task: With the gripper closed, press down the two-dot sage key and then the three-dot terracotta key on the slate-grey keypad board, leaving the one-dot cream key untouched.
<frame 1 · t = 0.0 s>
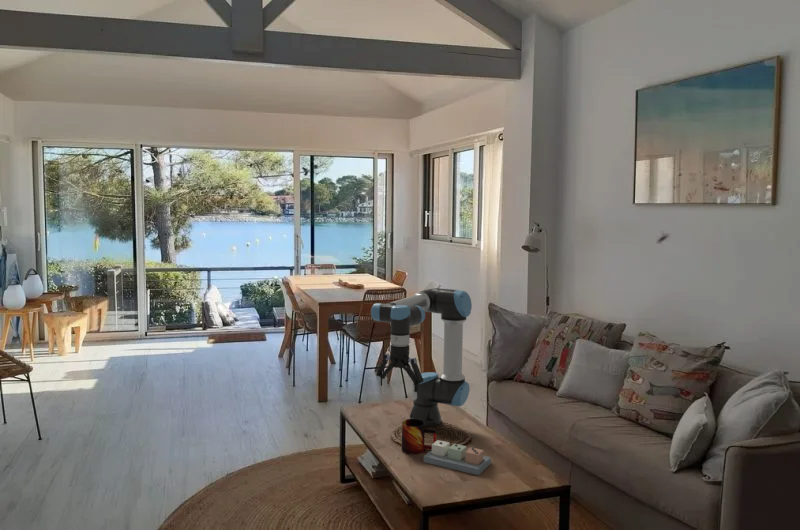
hand: (399, 396, 257), 28 cm above the table, fingers open, 13 cm apart
key two: (457, 451, 262), point 5 cm above the table, slide at 0.0 cm
key one: (440, 448, 265), point 5 cm above the table, slide at 0.0 cm
keypad board: (457, 462, 262), on the table
mug: (417, 450, 275), on the table
key three: (474, 455, 258), point 5 cm above the table, slide at 0.0 cm
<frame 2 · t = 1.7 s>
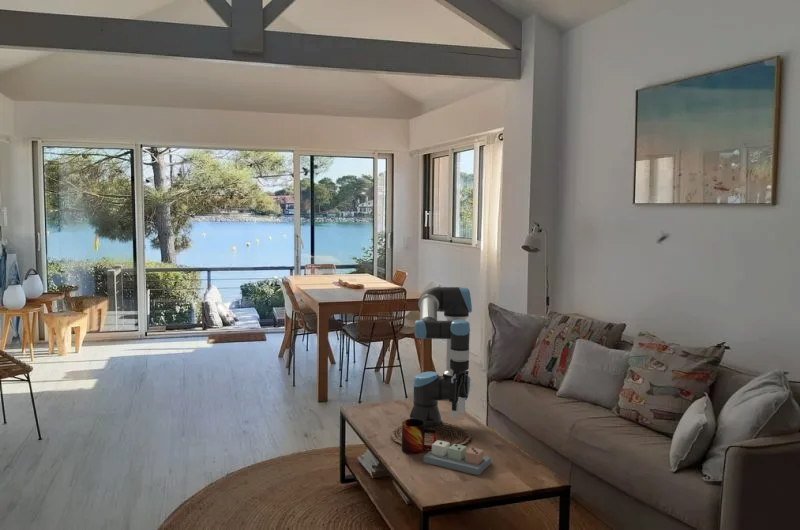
hand: (458, 415, 260), 20 cm above the table, fingers open, 6 cm apart
nothing on the table moved.
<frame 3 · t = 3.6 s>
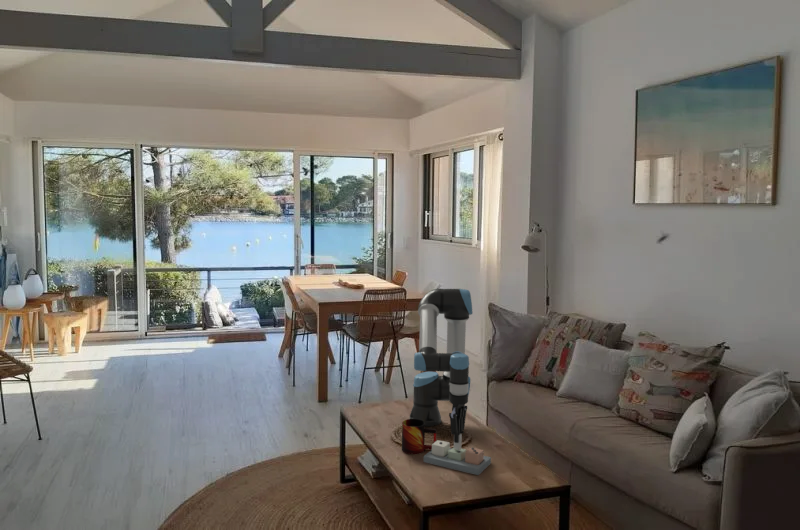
hand: (457, 449, 261), 6 cm above the table, fingers closed
key two: (457, 455, 262), point 3 cm above the table, slide at 1.3 cm, touching gripper
mug: (417, 450, 275), on the table, touching keypad board
everything else where it was.
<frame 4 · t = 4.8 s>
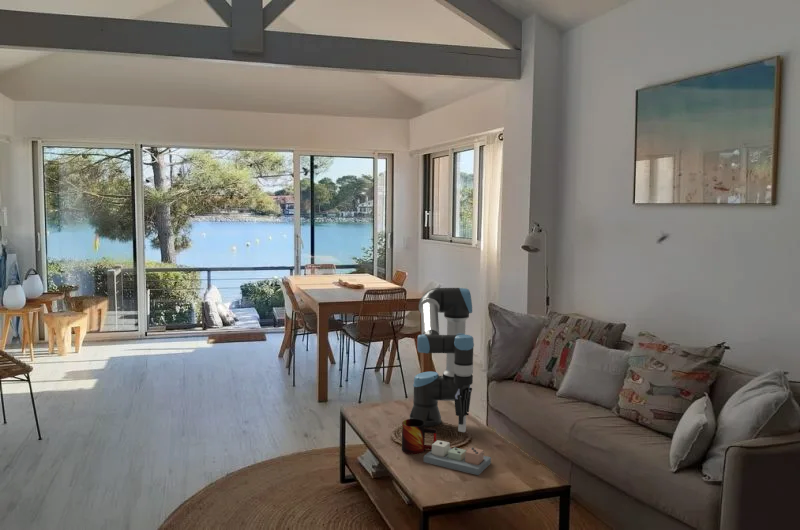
hand: (462, 431, 259), 14 cm above the table, fingers closed
key two: (457, 455, 262), point 3 cm above the table, slide at 1.6 cm
mug: (417, 450, 275), on the table
everything else where it was.
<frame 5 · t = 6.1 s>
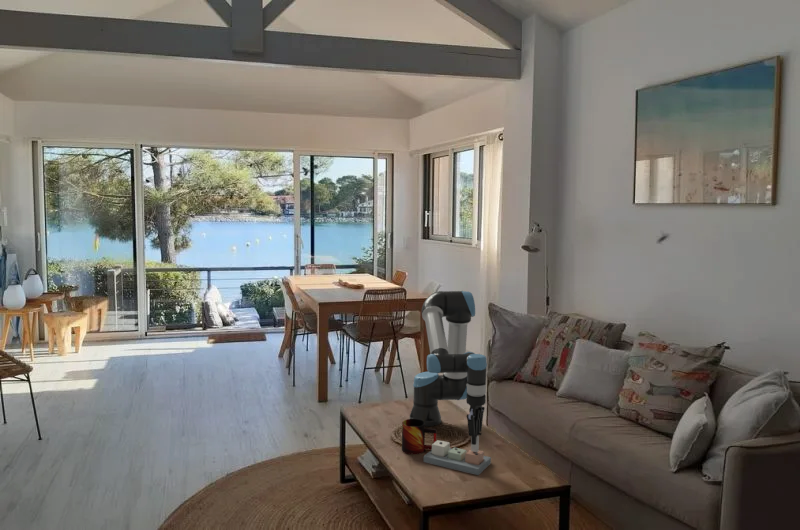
hand: (474, 451, 258), 7 cm above the table, fingers closed
key three: (474, 457, 258), point 4 cm above the table, slide at 0.5 cm, touching gripper
everything else where it was.
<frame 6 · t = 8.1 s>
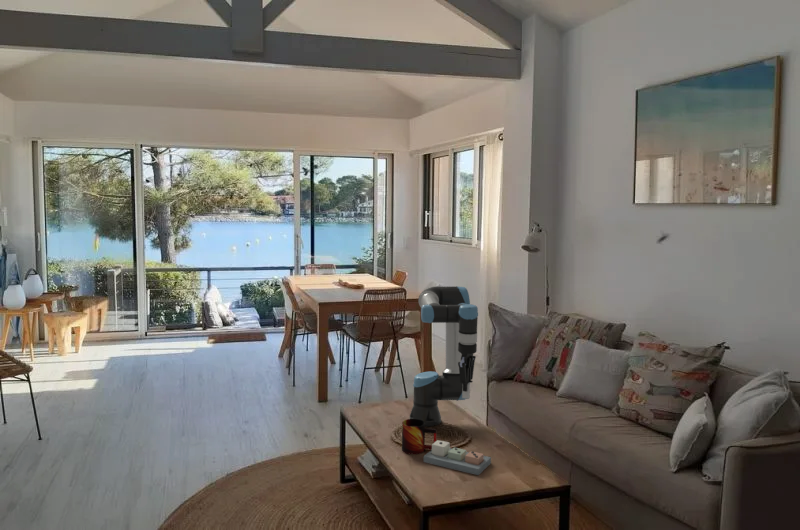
hand: (465, 397, 267), 25 cm above the table, fingers closed
key three: (474, 459, 258), point 3 cm above the table, slide at 1.6 cm
everything else where it was.
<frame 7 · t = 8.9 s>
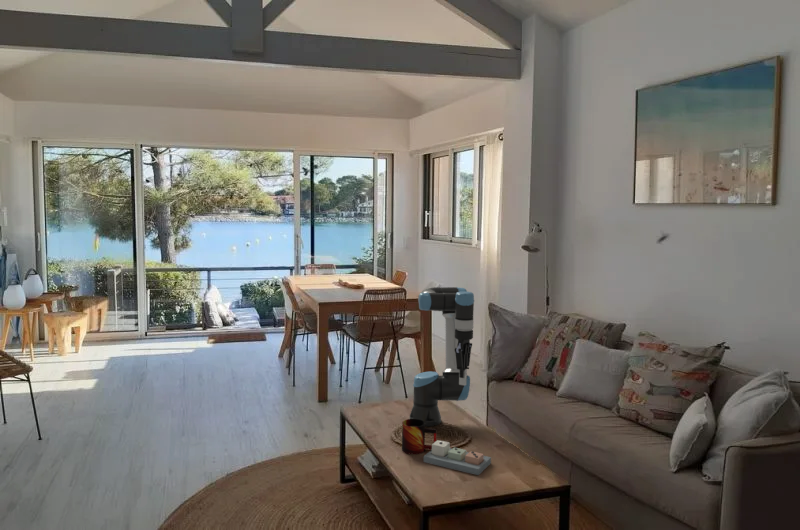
hand: (462, 384, 269), 29 cm above the table, fingers closed
nothing on the table moved.
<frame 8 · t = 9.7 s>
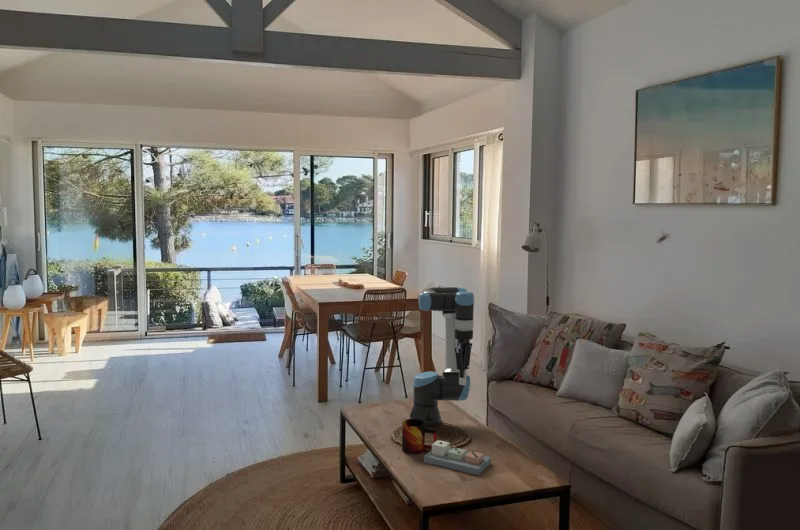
hand: (462, 384, 269), 29 cm above the table, fingers closed
nothing on the table moved.
at the end: key two slide at 1.6 cm; key three slide at 1.6 cm; key one slide at 0.0 cm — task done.
